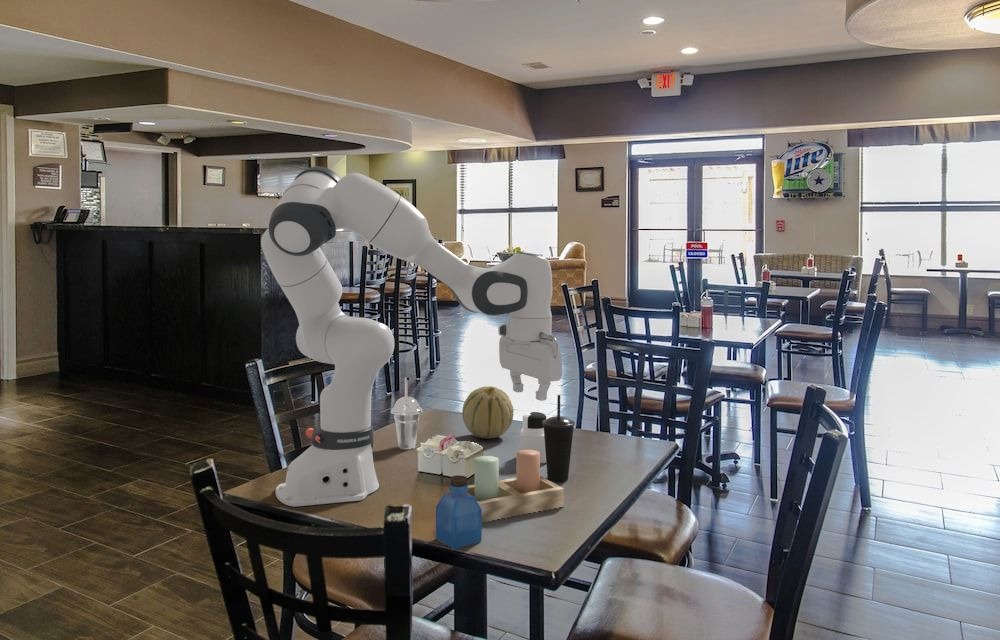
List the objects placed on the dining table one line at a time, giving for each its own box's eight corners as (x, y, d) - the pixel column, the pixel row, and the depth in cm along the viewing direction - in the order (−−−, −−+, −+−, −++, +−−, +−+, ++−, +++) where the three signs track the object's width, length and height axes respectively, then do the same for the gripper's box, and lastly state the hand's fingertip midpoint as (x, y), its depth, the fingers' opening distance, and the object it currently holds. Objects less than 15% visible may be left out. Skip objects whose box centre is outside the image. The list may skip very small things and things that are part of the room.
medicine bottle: (548, 455, 196) (549, 410, 195) (547, 464, 189) (548, 417, 188) (521, 454, 197) (521, 409, 196) (519, 463, 190) (519, 416, 189)
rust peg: (543, 504, 160) (544, 454, 159) (523, 508, 158) (523, 457, 157) (531, 497, 165) (532, 448, 164) (511, 501, 162) (512, 451, 161)
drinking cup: (565, 472, 183) (566, 390, 180) (579, 481, 176) (581, 397, 173) (536, 475, 180) (537, 393, 178) (549, 485, 173) (551, 399, 171)
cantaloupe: (489, 428, 224) (489, 378, 222) (524, 438, 213) (524, 385, 212) (450, 437, 214) (450, 385, 212) (485, 447, 203) (485, 393, 202)
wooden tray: (474, 524, 149) (474, 504, 149) (451, 506, 159) (451, 488, 158) (563, 507, 159) (564, 488, 159) (536, 491, 169) (537, 474, 168)
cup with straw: (427, 444, 207) (426, 372, 204) (415, 453, 198) (415, 378, 196) (398, 441, 209) (397, 370, 207) (385, 450, 200) (384, 376, 198)
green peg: (481, 516, 153) (481, 464, 152) (470, 509, 158) (470, 457, 156) (502, 512, 156) (503, 460, 154) (491, 505, 160) (491, 454, 159)
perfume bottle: (453, 549, 137) (453, 485, 136) (435, 538, 142) (435, 476, 141) (481, 541, 141) (481, 479, 140) (463, 531, 146) (463, 470, 145)
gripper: (570, 335, 150) (569, 403, 151) (519, 325, 168) (518, 386, 169) (544, 336, 147) (542, 406, 148) (494, 326, 165) (493, 388, 166)
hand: (529, 395), depth 159 cm, fingers open, 8 cm apart
